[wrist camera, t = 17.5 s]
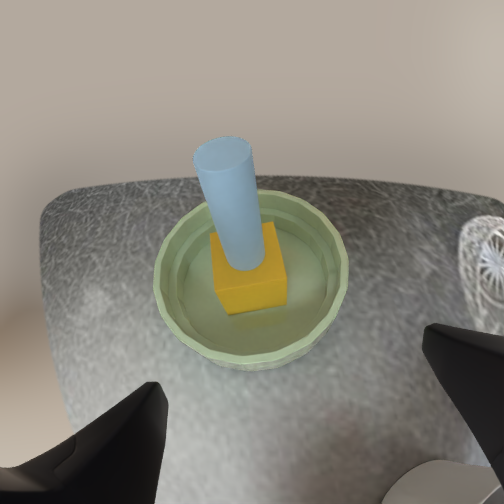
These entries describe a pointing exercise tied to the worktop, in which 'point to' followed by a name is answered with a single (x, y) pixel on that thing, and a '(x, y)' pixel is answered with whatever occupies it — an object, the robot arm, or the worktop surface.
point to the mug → (446, 485)
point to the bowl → (260, 321)
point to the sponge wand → (239, 229)
